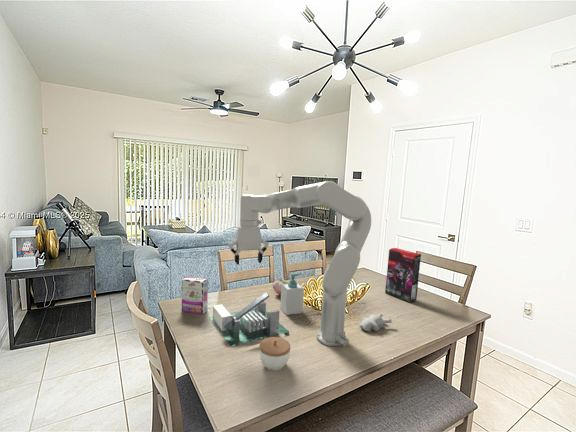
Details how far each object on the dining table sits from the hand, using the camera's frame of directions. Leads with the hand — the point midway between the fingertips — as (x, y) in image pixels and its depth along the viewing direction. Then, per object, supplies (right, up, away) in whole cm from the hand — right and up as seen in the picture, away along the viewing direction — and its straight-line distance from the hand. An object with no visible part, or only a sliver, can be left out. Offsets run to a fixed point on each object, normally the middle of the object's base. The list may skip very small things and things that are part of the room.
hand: (248, 262), depth 130 cm
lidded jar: (+12, -33, -24) cm, 42 cm away
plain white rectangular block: (-12, -27, +2) cm, 29 cm away
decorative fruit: (+13, -24, +40) cm, 48 cm away
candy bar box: (-27, -26, +14) cm, 40 cm away
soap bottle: (+19, -27, +21) cm, 39 cm away
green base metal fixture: (-1, -28, +3) cm, 28 cm away
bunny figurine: (+56, -31, +8) cm, 64 cm away
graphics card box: (+82, -27, +46) cm, 98 cm away
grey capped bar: (0, -20, -4) cm, 20 cm away
